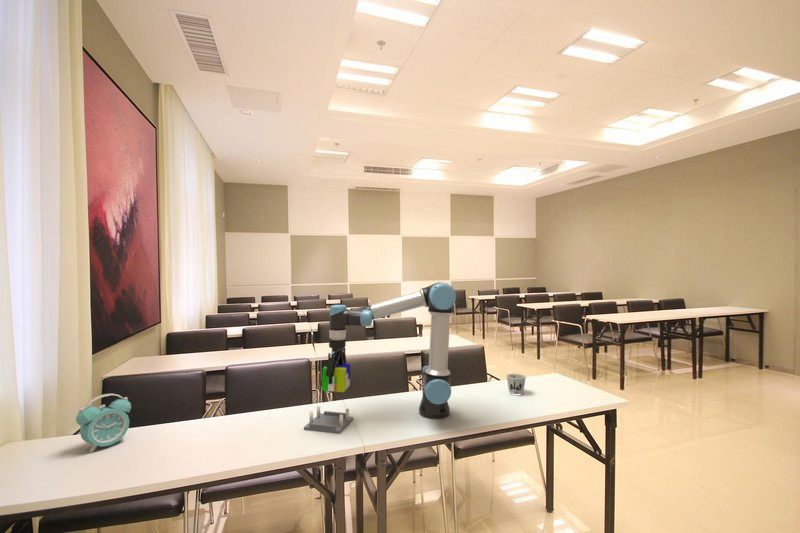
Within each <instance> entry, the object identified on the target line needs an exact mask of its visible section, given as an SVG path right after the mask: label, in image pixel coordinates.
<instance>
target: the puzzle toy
mask: <svg viewBox="0 0 800 533" xmlns="http://www.w3.org/2000/svg"><path fill="white" fill-rule="evenodd" d="M326 369H327V364H326V365H325V366H324V367H323V368H322V382H321V384H322V385H321V386H322V388H321V392H329V391H328V376H326ZM334 376H335V379H334V391H332V392H334V393H335V392H336V393H337V392H338V393H345V392H346V390H348V388H349V387H350V386H351V363H347V364H338V362H337V364H336V368H335V372H334Z"/></svg>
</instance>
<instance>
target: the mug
mask: <svg viewBox="0 0 800 533" xmlns="http://www.w3.org/2000/svg"><path fill="white" fill-rule="evenodd" d="M526 378H527V377H526V375H524V374H521V373H520V374H519V373H507V374H506V380H507V387H508V392H510V393H513V394H523V395H524V392H525V385H526V384H525V383H526ZM510 393H509V394H510Z"/></svg>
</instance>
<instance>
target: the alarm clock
mask: <svg viewBox="0 0 800 533" xmlns="http://www.w3.org/2000/svg"><path fill="white" fill-rule="evenodd" d="M109 396H116V397H118V399H115V400H113V401H112V402H111V403H110V404H109V405H108V406H107V407H106V404H102V405H99V406H98V407H97V406H90V405H91V404H92V403H93V402H95V401H96V400H98V399H102V398H105V397H109ZM131 409H132V403H131V402H130V401H129V399H128V397H127V396H124V397H123V396H121V395H120V394H116V393H104V394H101V395H98V396H95V397H94V398H92V399H91V400H89V401H88V402H87V403H86V404H85V405H84V406H83V407H80V408H79V409H78V411H77V412H78V413H77V414H76V416H75V417H76V418H75V422H76V423H77V425H78V426H80V429H79V434H80V438H81V439H82V440H83V441H84V442H86V444H90V445H92V446H91V448H90V449H89V451H88V453H93V452H95V451H96V449H97V448H98V447H109V446H111V445H113V444H115V443H118V442H120V443H123V442H125V441H126V440H125V439H124V436H126V435H125V434H127V432H128V431H129V427H130V422H131V421H130V418H129V415H128V414H129V413H130V411H131ZM127 413H128V414H127Z"/></svg>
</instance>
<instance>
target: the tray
mask: <svg viewBox="0 0 800 533" xmlns="http://www.w3.org/2000/svg"><path fill="white" fill-rule="evenodd" d="M353 420H354V416H350V408H345V412H338V411H330V410H324V411H323V413H321V405H317V406H316V416H315V417H314V411H312V410H311V411H309V422H308V423H307V424H305V426H303V430H305V431H311V432H320V433H327V434H328V433H329V434H337V435H340V434H341V433H342V432H343V431H344V430H345V429H347V427H348V426H349V424H351V422H353Z"/></svg>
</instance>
